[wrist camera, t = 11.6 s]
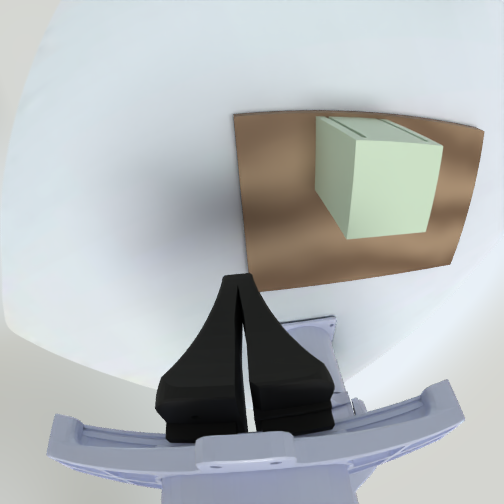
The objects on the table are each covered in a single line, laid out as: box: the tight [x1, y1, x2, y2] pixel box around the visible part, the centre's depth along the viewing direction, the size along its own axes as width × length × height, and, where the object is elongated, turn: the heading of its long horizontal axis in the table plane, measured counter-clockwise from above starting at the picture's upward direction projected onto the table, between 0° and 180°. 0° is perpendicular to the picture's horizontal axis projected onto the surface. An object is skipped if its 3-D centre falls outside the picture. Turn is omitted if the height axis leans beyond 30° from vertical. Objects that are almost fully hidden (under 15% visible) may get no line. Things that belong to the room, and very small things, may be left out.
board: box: [233, 110, 484, 292], centre depth 22 cm, size 15×22×1 cm
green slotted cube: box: [315, 116, 443, 239], centre depth 16 cm, size 5×5×7 cm
